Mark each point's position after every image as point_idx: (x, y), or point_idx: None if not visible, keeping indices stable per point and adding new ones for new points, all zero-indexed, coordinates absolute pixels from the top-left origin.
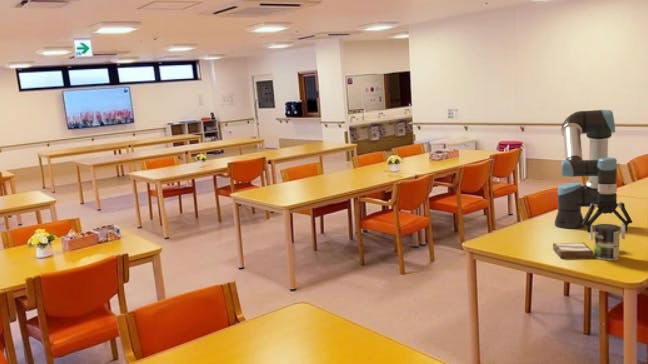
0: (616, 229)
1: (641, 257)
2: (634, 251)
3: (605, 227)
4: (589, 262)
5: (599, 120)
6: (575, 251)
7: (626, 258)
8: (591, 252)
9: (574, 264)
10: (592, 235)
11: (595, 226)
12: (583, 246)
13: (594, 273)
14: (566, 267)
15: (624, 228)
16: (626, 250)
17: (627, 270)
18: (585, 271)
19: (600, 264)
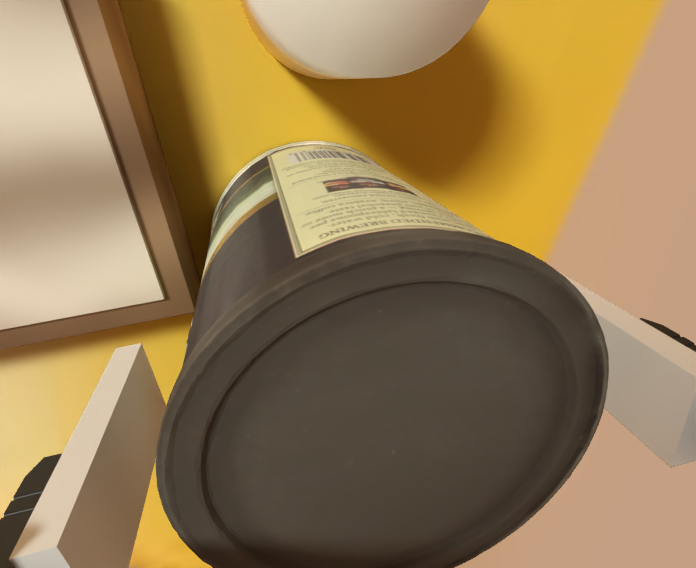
0: (494, 542)
1: (551, 237)
2: (577, 66)
3: (370, 480)
4: (168, 394)
5: None
6: (6, 335)
7: None
8: (178, 310)
9: (54, 452)
10: (152, 462)
11: (184, 473)
12: (78, 156)
13: (195, 557)
14: (2, 514)
15: (634, 417)
16: (529, 29)
17: None
18: (142, 544)
19: None
